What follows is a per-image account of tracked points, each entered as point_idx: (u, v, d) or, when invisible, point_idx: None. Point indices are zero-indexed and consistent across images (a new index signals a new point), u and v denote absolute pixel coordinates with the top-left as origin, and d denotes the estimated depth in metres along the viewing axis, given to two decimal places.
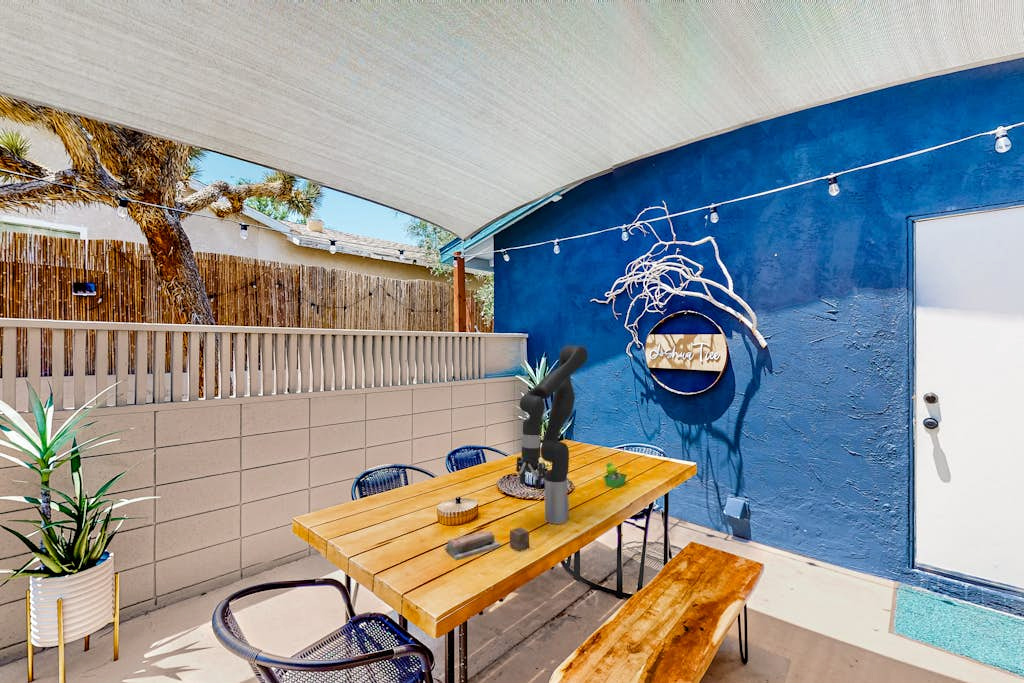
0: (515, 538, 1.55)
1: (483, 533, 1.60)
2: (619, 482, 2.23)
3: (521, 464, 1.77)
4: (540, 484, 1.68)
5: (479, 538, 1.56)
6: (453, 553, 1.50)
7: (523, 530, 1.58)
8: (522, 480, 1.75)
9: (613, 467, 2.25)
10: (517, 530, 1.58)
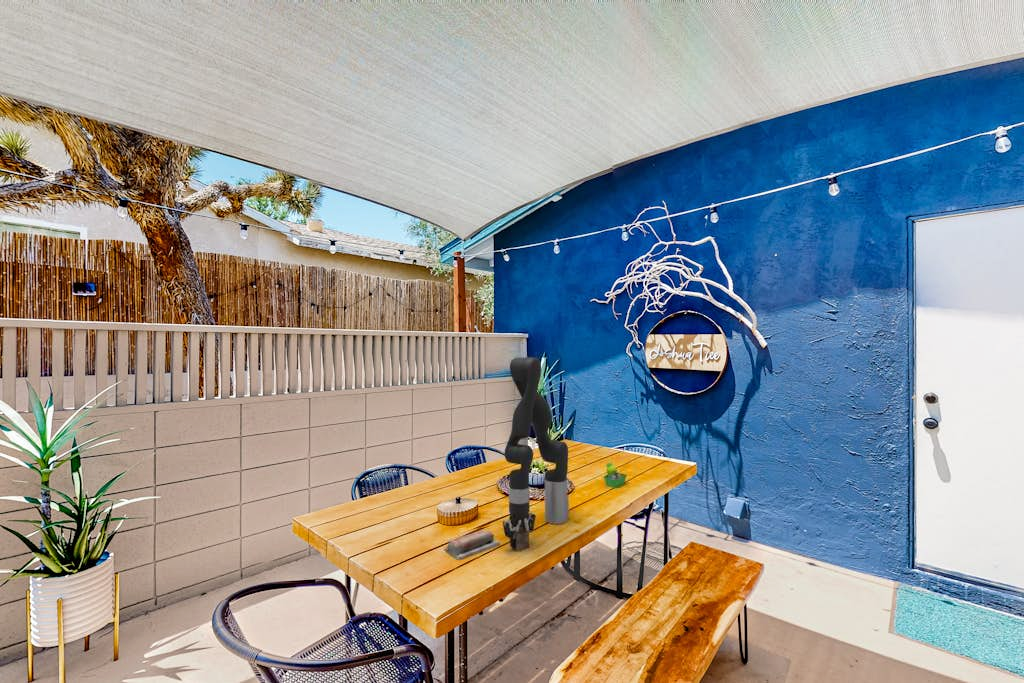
0: None
1: (482, 532, 1.60)
2: (619, 482, 2.23)
3: None
4: None
5: (479, 537, 1.56)
6: (455, 553, 1.50)
7: (523, 530, 1.58)
8: None
9: (613, 467, 2.25)
10: None
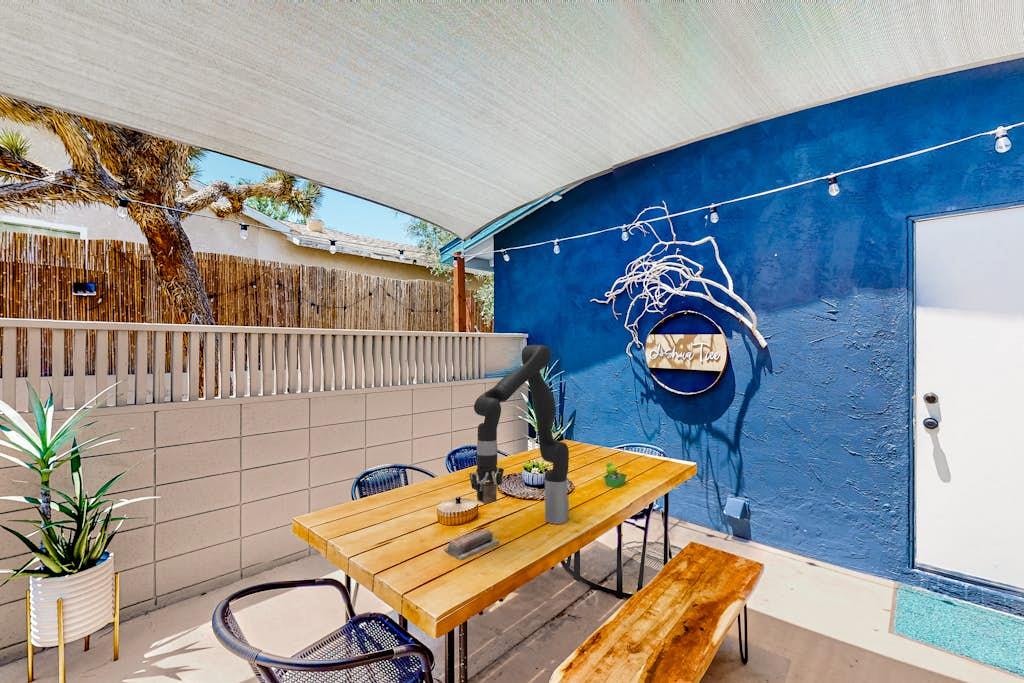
0: (482, 490, 1.54)
1: (481, 531, 1.61)
2: (619, 482, 2.23)
3: None
4: None
5: (479, 537, 1.57)
6: (456, 553, 1.50)
7: (491, 483, 1.57)
8: None
9: (613, 467, 2.25)
10: (485, 483, 1.57)
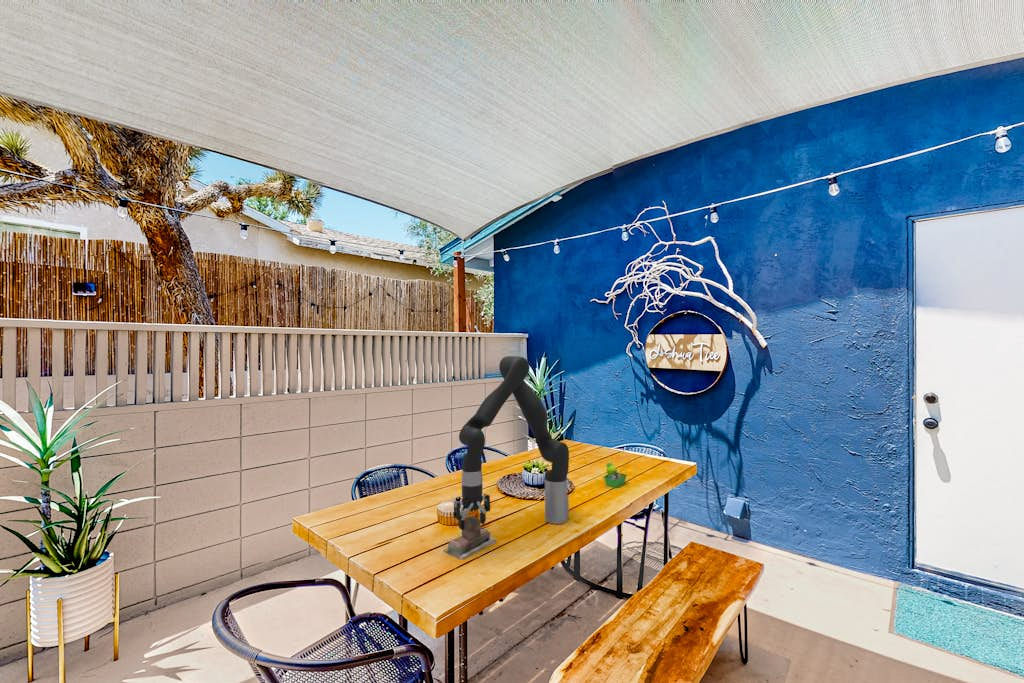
0: (466, 526, 1.55)
1: None
2: (619, 482, 2.23)
3: None
4: None
5: None
6: (458, 554, 1.50)
7: (475, 518, 1.58)
8: None
9: (613, 467, 2.25)
10: (469, 518, 1.58)
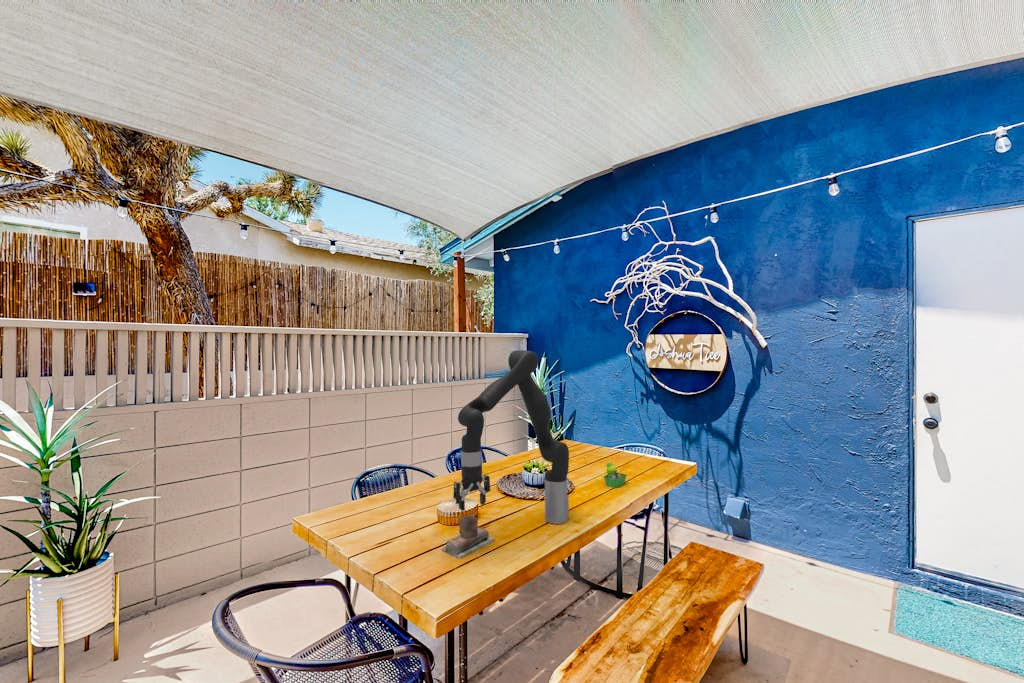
0: (462, 525, 1.57)
1: None
2: (619, 482, 2.23)
3: None
4: None
5: None
6: (455, 553, 1.51)
7: (472, 517, 1.59)
8: None
9: (613, 467, 2.25)
10: (466, 517, 1.59)
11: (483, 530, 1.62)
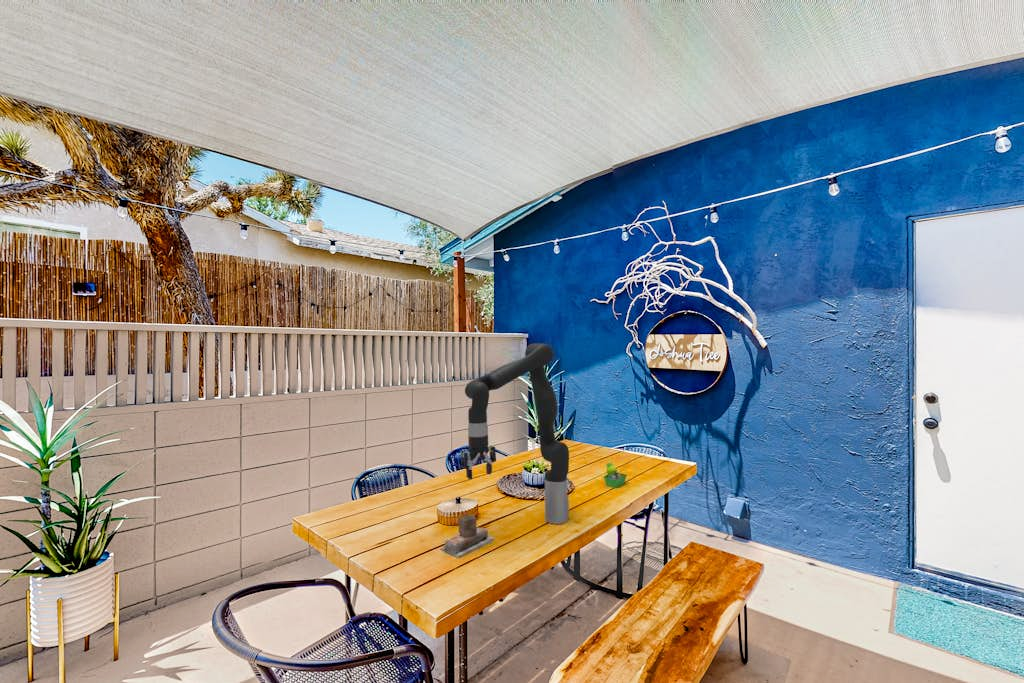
0: (461, 524, 1.57)
1: None
2: (619, 482, 2.23)
3: None
4: None
5: (475, 535, 1.59)
6: (454, 552, 1.51)
7: (471, 517, 1.59)
8: None
9: (613, 467, 2.25)
10: (465, 516, 1.60)
11: (482, 529, 1.62)
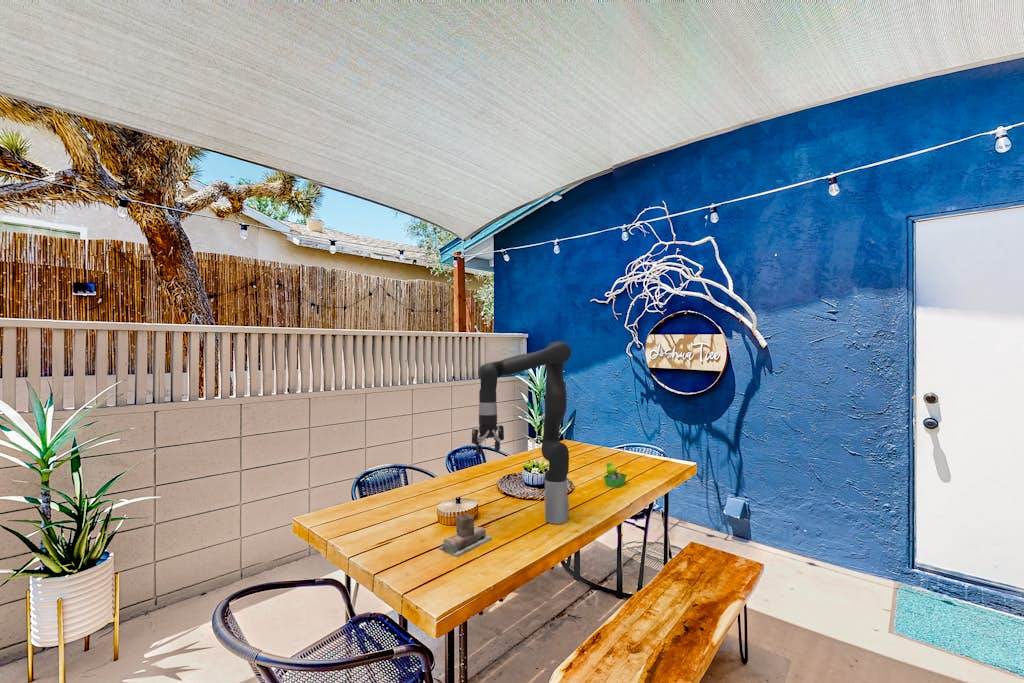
0: (459, 523, 1.58)
1: (474, 529, 1.64)
2: (619, 482, 2.23)
3: None
4: None
5: (473, 534, 1.59)
6: (452, 551, 1.52)
7: (469, 516, 1.60)
8: None
9: (613, 467, 2.25)
10: (463, 516, 1.60)
11: (480, 529, 1.63)
